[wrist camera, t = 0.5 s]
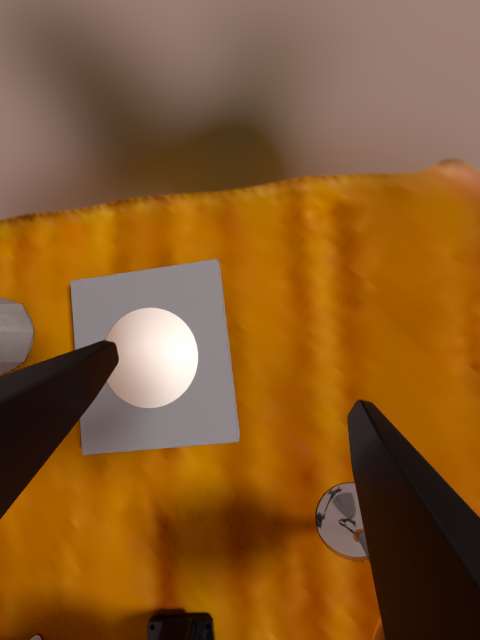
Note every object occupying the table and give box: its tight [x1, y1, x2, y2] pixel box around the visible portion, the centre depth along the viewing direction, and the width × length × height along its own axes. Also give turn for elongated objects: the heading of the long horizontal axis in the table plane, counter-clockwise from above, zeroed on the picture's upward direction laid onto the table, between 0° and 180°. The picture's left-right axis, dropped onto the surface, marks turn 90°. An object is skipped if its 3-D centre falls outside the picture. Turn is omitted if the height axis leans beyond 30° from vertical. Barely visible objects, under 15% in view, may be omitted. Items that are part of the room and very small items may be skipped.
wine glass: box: [316, 483, 385, 640], centre depth 13 cm, size 8×8×15 cm
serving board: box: [70, 259, 240, 455], centre depth 22 cm, size 18×16×2 cm
